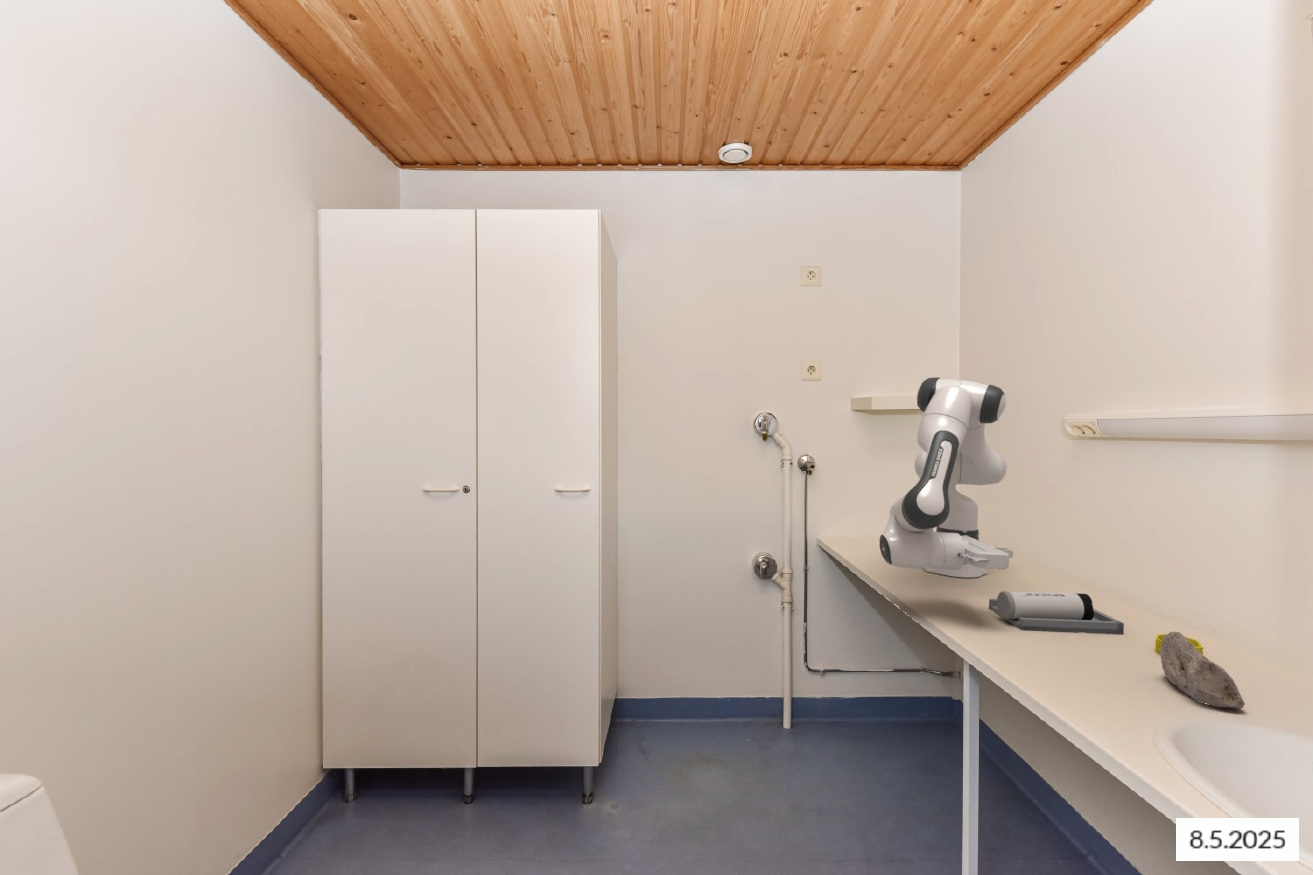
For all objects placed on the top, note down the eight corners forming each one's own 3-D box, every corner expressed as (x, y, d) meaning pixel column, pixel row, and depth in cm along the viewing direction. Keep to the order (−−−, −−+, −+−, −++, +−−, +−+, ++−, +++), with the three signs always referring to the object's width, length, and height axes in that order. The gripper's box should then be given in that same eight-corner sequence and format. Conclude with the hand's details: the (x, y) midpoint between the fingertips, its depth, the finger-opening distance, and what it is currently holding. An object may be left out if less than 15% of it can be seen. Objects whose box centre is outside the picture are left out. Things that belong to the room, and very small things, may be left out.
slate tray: (988, 608, 154) (989, 598, 154) (1079, 612, 153) (1080, 602, 153) (1021, 630, 139) (1021, 619, 138) (1123, 634, 137) (1123, 623, 137)
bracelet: (1159, 659, 123) (1159, 642, 123) (1151, 646, 130) (1152, 631, 130) (1206, 666, 119) (1207, 649, 119) (1196, 653, 126) (1197, 637, 126)
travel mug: (997, 618, 146) (1082, 620, 146) (1011, 618, 140) (1101, 621, 139) (994, 591, 148) (1078, 593, 147) (1008, 590, 142) (1096, 592, 141)
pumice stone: (1250, 716, 99) (1252, 655, 98) (1193, 708, 101) (1195, 649, 101) (1200, 679, 113) (1202, 626, 113) (1151, 673, 115) (1153, 621, 115)
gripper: (969, 547, 137) (1033, 548, 136) (935, 530, 157) (990, 532, 156) (968, 574, 137) (1032, 576, 136) (934, 554, 157) (990, 556, 156)
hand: (1010, 552), depth 146 cm, fingers closed
